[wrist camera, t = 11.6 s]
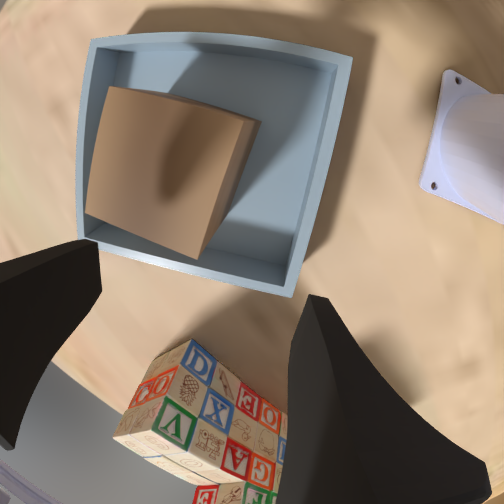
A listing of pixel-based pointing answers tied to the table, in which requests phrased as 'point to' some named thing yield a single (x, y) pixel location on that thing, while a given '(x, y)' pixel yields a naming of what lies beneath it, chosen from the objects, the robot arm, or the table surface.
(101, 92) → the tray
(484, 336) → the table surface
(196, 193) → the walnut block
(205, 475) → the stack of blocks
